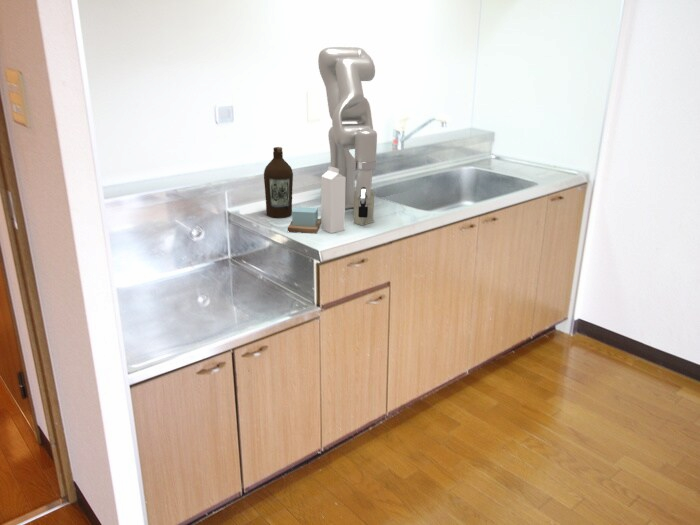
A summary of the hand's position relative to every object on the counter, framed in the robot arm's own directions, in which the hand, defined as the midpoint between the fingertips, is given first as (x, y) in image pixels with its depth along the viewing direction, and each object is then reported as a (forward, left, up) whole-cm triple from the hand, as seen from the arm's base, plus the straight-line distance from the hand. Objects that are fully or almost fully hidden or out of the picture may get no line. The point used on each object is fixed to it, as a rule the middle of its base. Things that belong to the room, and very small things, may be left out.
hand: (363, 213), depth 222 cm
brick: (+9, -20, -2) cm, 22 cm away
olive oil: (-5, -32, -4) cm, 33 cm away
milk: (+10, -10, -4) cm, 15 cm away
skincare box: (0, 0, -4) cm, 4 cm away
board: (+9, -20, -3) cm, 22 cm away
